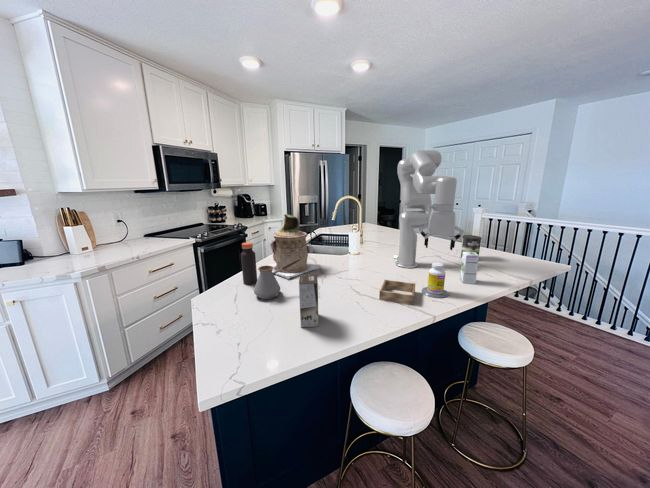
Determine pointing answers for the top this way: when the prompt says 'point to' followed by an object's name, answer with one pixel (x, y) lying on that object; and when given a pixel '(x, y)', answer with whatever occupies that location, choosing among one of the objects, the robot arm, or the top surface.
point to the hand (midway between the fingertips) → (438, 248)
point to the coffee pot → (268, 282)
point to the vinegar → (248, 264)
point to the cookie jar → (290, 250)
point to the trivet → (435, 294)
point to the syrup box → (469, 267)
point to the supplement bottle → (436, 279)
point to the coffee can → (470, 244)
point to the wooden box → (397, 296)
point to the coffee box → (308, 300)
